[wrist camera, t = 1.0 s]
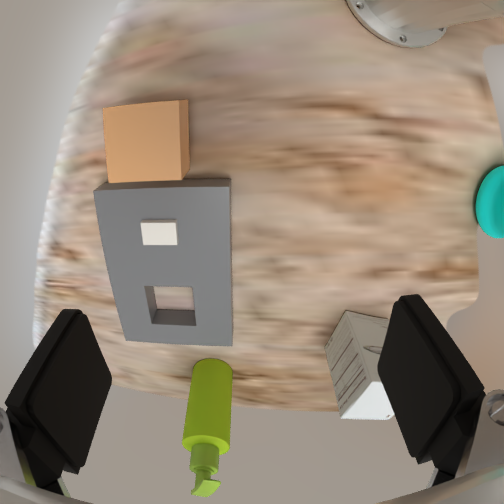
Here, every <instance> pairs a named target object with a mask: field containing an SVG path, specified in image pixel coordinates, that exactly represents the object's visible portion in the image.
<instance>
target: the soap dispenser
mask: <svg viewBox="0 0 504 504" xmlns="http://www.w3.org/2000/svg"><path fill="white" fill-rule="evenodd" d="M232 375H233V372H232V369H231V367H230V366H229V365H228V364H227V363H225V362H223V361H221V360H218V359H204V360H201V361H199V362H197V363H196V364H195V366H194V368H193V374H192V380H191V387H190V393H189V399H188V406H187V412H186V419H185V426H184V433H183V440H182V445H183V446H184V448H185V449H187V450H188V451H190V452H191V459H190V470H191V471H192V472H194V473H196V480H195V488H194V489H193V490H191V495H197V496H202V497H208V496H210V495H211V494H213V493H214V492H215V491H216V490H217V488H218V487H219V486H220V484H221V482H220V481H217V480H212V479H210V477H211V475H213V474H216V473H217V472H218V464H219V455H222V454H224V453H226V452H228V450H229V448H230V424H231V399H232Z"/></svg>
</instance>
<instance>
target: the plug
mask: <svg viewBox="0 0 504 504" xmlns="http://www.w3.org/2000/svg"><path fill="white" fill-rule="evenodd" d="M103 123H104V138H105V151H106V162H107V172H108V181H109V183H120V182H140V181H167V180H182V179H183V178H184V176H185V175H186V174H187V172H188V171H189V170H190V159H189V119H188V100H174V101H160V102H149V103H139V104H130V105H122V106H114V107H107V108H103Z"/></svg>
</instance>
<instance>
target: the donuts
mask: <svg viewBox="0 0 504 504" xmlns="http://www.w3.org/2000/svg"><path fill="white" fill-rule="evenodd" d="M476 216H477V220H478V223H479V225H480V227H481V228H482V230H483V231H484V232H485V233H486V234H487V235H489V236H491V237H493V238H504V166H500V167H497V168H495V169H493V170H492V171H491V172H490V173H489V174H488V175H487V176H486V177H485V179H484V180H483V182H482V184H481V186H480V188H479V191H478V194H477V199H476Z"/></svg>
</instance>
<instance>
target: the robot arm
mask: <svg viewBox="0 0 504 504" xmlns="http://www.w3.org/2000/svg"><path fill="white" fill-rule="evenodd" d="M346 1H347V3H348V6H349V8H350V9H351V11H352V12H353V14H354V15H355V17H356V18H357V19H358V20H359V21H360V22H361V23H362V25H363V26H365V27H366V28H367V29H368V30H369V31H370V32H371V33H373V34H374V35H376V36H377V37H379V38H381V39H382V40H384V41H386V42H389V43H391V44H393V45H397V46H400V47H407V48H418V47H424V46H429V45H431V44H433V43H435V42H437V41H438V40H439V39H440V38H441V37H442V36H443V35H444V34H445V32H446V30H447V27H448V26H453V25H457V24H463V23H468V22H473V21H479V20H485V19H492V18H499V17H504V0H346ZM356 5H357V6H359V9H358V8H357V7H356ZM400 38H401V40H400ZM377 371H378V375H379V377H380V380H381V382H382V384H383V387H384V389H385V392H386V394H387V397H388V399H389V402H390V404H391V407H392V409H393V412H394V414H395V417H396V419H397V422H398V424H399V427H400V430H401V432H402V435H403V438H404V440H405V443H406V445H407V448H408V451H409V453H410V455H411V457H415V458H416V460H417V463H418V464H422V463H424V462H428V461H430V460H432V461H433V463H434V466H435V469H434V471H433V474H432V476H431V479H430V481H429V483H428V486H427V488H426V489H425V490H421V491H418V492H415V493H412V494H409V495H405V496H402V497H398V498H395V499H392V500H388V501H384V502H380V503H376V504H504V390H500V389H499V390H493V391H491V392H489V393H488V394H487V395H486V394H485V392H484V391H483V390H484V386H483V384H482V383H481V381H480V380H479V378H478V377H477V375H476V373H475V372H474V370H473V369H472V367H471V366H470V364H469V363H468V361H467V360H466V359H465V357H464V356H463V354H462V353H461V351H460V350H459V348H458V347H457V345H456V344H455V342H454V341H453V340H452V338H451V337H450V335H449V334H448V332H447V331H446V330H445V328H444V327H443V326H442V324H441V323H440V321H439V320H438V319H437V317H436V316H435V315H434V313H433V312H432V311H431V309H430V308H429V307H428V305H427V304H426V303H425V301H424V300H423V299H422V297H421V296H420V295H418V294H414V295H405V296H401V297H400V298H399V300H398V301H396V302H395V303H394V305H393V309H392V313H391V317H390V321H389V325H388V329H387V333H386V336H385V340H384V344H383V347H382V351H381V354H380V358H379V361H378V365H377ZM111 383H112V376H111V373H110V371H109V368H108V366H107V364H106V362H105V359H104V357H103V355H102V352H101V350H100V348H99V345H98V343H97V340H96V338H95V335H94V333H93V330H92V328H91V325H90V322H89V320H88V317H87V316H86V315H85V314H83V313H82V311H81V310H79V309H63V310H62V311H61V312H60V314H59V315H58V317H57V318H56V320H55V321H54V323H53V324H52V325H51V327H50V328H49V330H48V331H47V333H46V335H45V336H44V338H43V339H42V341H41V342H40V344H39V345H38V347H37V348H36V350H35V352H34V353H33V355H32V357H31V358H30V360H29V362H28V363H27V365H26V366H25V368H24V370H23V371H22V373H21V375H20V376H19V378H18V380H17V382H16V383H15V385H14V387H13V389H12V390H11V392H10V394H9V396H8V398H7V399H6V401H5V404H6V406H7V407H8V408H7V410H6V412H5V411H4V410H3V409H2V408H0V504H92V503H88V502H84V501H80V500H77V499H73V498H71V497H70V494H69V492H68V490H67V488H66V486H65V484H64V482H63V479H62V477H61V474H62V471H63V470H64V471H67V472H71V473H74V474H78V473H79V470H80V467H83V466H84V465H85V462H86V459H87V456H88V452H89V449H90V446H91V443H92V440H93V437H94V433H95V430H96V427H97V424H98V421H99V418H100V415H101V412H102V409H103V406H104V404H105V400H106V398H107V395H108V392H109V389H110V386H111Z"/></svg>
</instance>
